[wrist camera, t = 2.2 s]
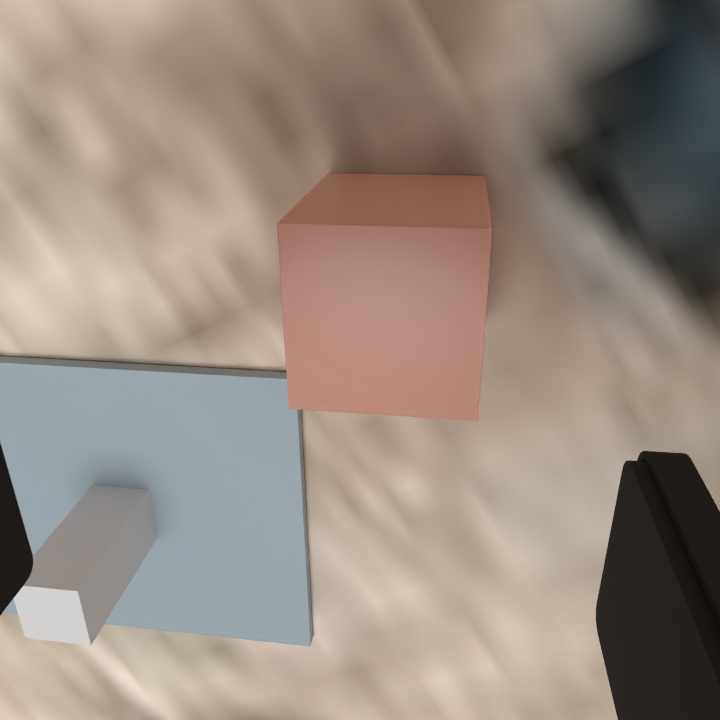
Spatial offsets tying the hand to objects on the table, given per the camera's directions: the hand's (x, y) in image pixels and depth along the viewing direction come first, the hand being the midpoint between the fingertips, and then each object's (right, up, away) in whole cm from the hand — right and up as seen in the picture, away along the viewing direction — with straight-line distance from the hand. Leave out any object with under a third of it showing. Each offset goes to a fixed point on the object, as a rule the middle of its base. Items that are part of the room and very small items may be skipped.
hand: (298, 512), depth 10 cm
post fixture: (-9, -4, +20) cm, 23 cm away
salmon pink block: (+2, +6, +14) cm, 15 cm away
